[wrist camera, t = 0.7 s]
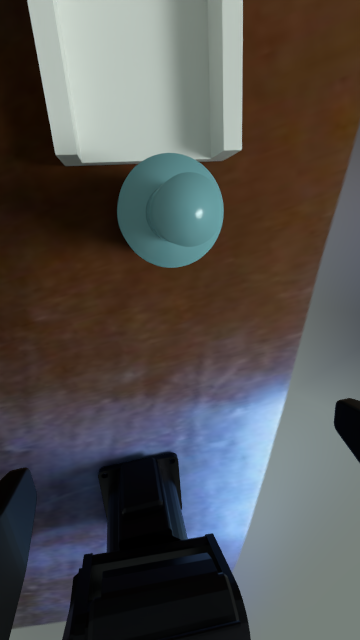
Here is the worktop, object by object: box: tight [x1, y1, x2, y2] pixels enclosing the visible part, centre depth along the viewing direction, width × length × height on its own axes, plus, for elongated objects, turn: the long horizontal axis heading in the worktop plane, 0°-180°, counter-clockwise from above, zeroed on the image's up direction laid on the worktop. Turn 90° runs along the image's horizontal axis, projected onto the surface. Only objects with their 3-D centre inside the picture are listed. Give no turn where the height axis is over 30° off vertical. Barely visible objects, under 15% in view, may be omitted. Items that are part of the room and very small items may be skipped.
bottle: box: [117, 153, 223, 268], centre depth 14 cm, size 4×4×10 cm
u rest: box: [27, 0, 243, 166], centre depth 14 cm, size 12×9×3 cm
